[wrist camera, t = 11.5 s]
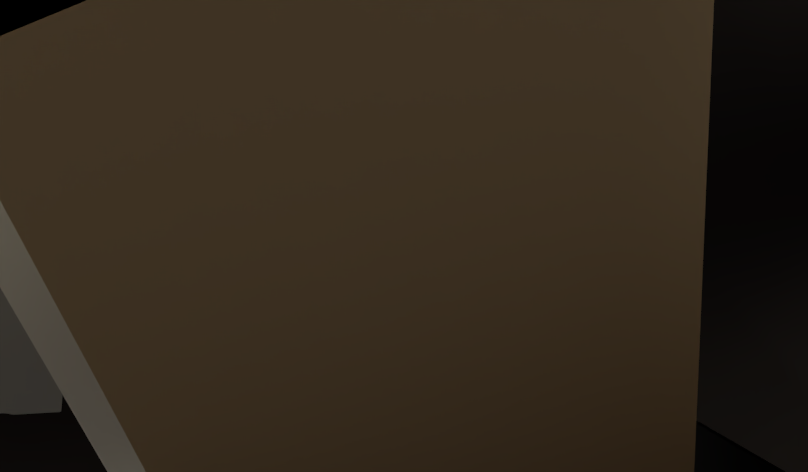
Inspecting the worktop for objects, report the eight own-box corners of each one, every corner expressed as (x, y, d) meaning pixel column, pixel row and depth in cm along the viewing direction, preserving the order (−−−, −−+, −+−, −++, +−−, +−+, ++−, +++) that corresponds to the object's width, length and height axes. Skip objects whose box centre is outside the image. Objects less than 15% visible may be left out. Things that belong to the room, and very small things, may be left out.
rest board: (627, -801, 6) (690, -918, 5) (643, 624, 17) (665, 665, 16) (-465, -650, 5) (-603, -751, 4) (287, 736, 16) (289, 785, 15)
